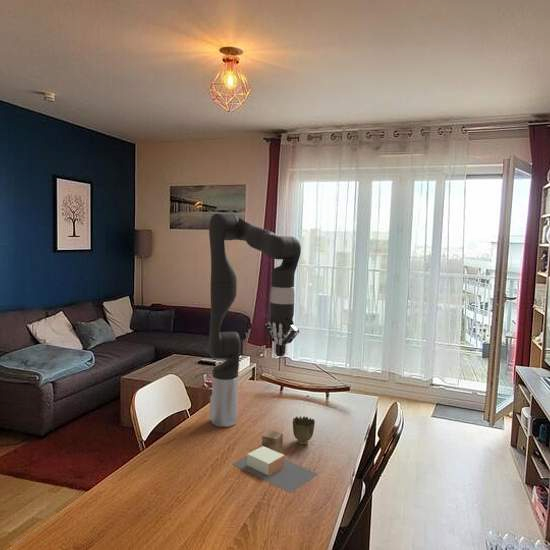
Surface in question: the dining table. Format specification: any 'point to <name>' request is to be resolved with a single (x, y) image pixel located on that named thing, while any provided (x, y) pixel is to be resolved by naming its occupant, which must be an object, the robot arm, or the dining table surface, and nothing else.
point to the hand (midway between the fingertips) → (280, 355)
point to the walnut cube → (272, 440)
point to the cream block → (265, 460)
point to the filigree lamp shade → (303, 429)
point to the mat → (282, 475)
